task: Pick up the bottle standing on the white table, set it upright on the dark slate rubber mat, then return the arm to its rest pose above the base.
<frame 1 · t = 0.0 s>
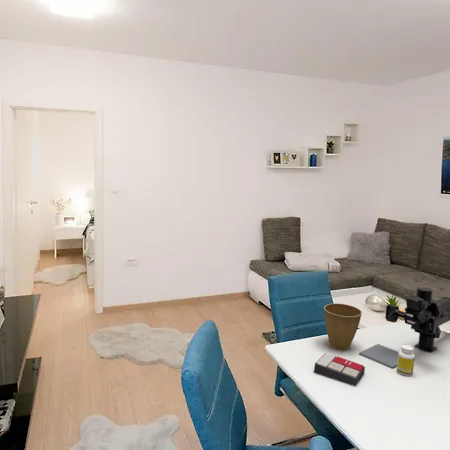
hand: (399, 323, 146), 17 cm above the table, tool horizontal, fingers open, 9 cm apart
slate mat: (384, 356, 154), on the table
supplement bottle: (404, 373, 142), on the table
plant pot: (339, 346, 162), on the table
calculator: (339, 374, 140), on the table
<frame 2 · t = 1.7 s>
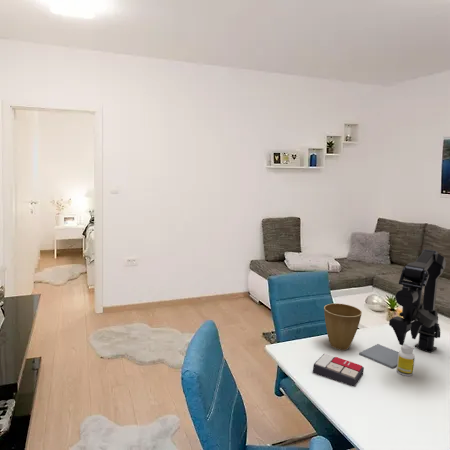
hand: (407, 341, 141), 12 cm above the table, tool pointing down, fingers open, 9 cm apart
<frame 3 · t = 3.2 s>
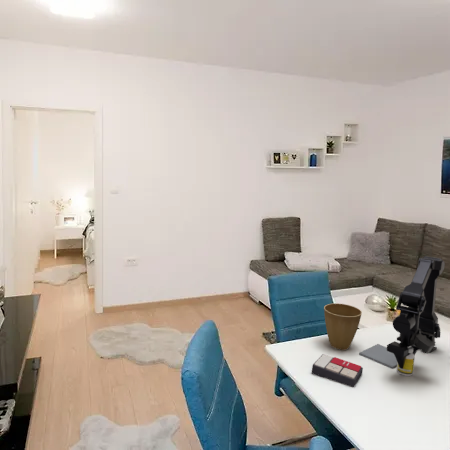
hand: (405, 366, 142), 3 cm above the table, tool pointing down, fingers closed on supplement bottle, 5 cm apart
supplement bottle: (404, 373, 142), on the table, touching gripper
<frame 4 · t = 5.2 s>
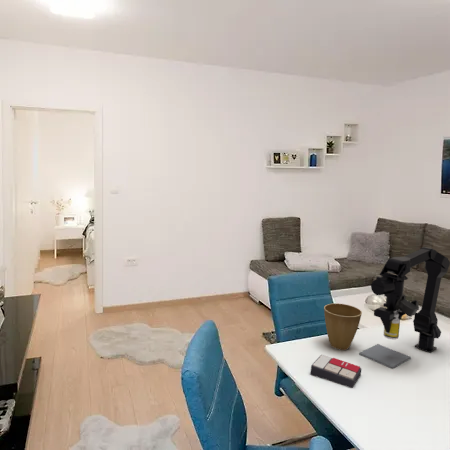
hand: (391, 330, 151), 12 cm above the table, tool pointing down, fingers closed on supplement bottle, 5 cm apart
supplement bottle: (390, 337, 151), point 9 cm above the table, touching gripper
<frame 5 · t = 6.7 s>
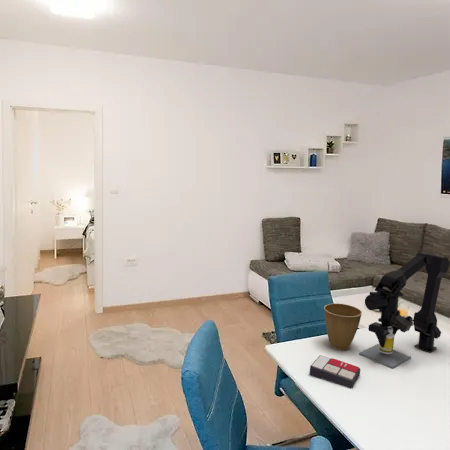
hand: (386, 345, 154), 5 cm above the table, tool pointing down, fingers closed on supplement bottle, 5 cm apart
supplement bottle: (385, 351, 154), point 2 cm above the table, touching gripper
when the fingers open (4 cm above the table, at t = 7.6 s): supplement bottle stays where it is, resting on slate mat.
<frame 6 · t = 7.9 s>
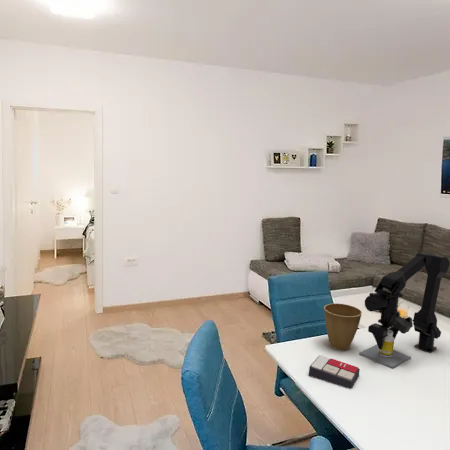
hand: (385, 346, 154), 4 cm above the table, tool pointing down, fingers open, 8 cm apart
supplement bottle: (385, 354, 155), point 1 cm above the table, touching slate mat
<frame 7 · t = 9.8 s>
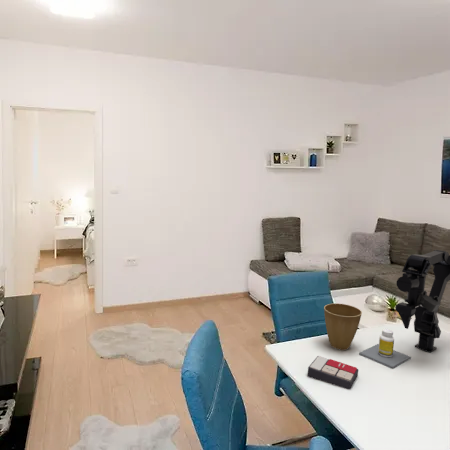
hand: (412, 325, 153), 13 cm above the table, tool pointing down, fingers open, 9 cm apart
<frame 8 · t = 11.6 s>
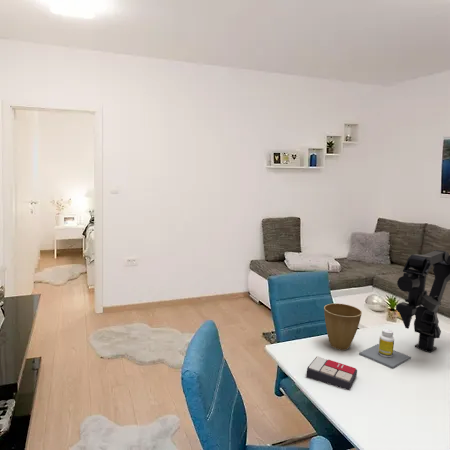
hand: (412, 325, 153), 13 cm above the table, tool pointing down, fingers open, 9 cm apart
at the end: supplement bottle inside the target area on the slate mat (0.2 cm from its centre), point 0.6 cm above the slate mat's base; supplement bottle tilted 0°; the gripper is holding nothing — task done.
